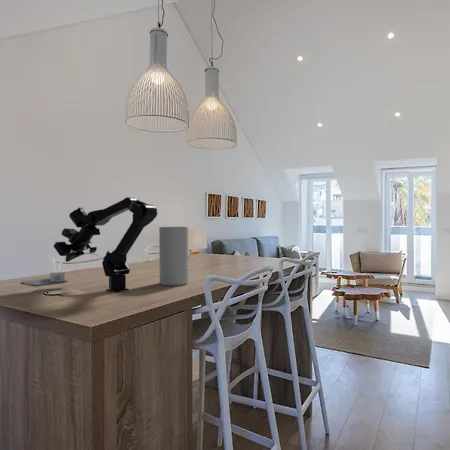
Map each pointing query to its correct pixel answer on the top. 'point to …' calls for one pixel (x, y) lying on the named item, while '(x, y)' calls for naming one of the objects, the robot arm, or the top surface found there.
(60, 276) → the skincare box
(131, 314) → the top surface
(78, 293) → the cork coaster
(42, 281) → the felt mat
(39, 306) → the top surface
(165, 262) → the cylinder vase
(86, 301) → the top surface
